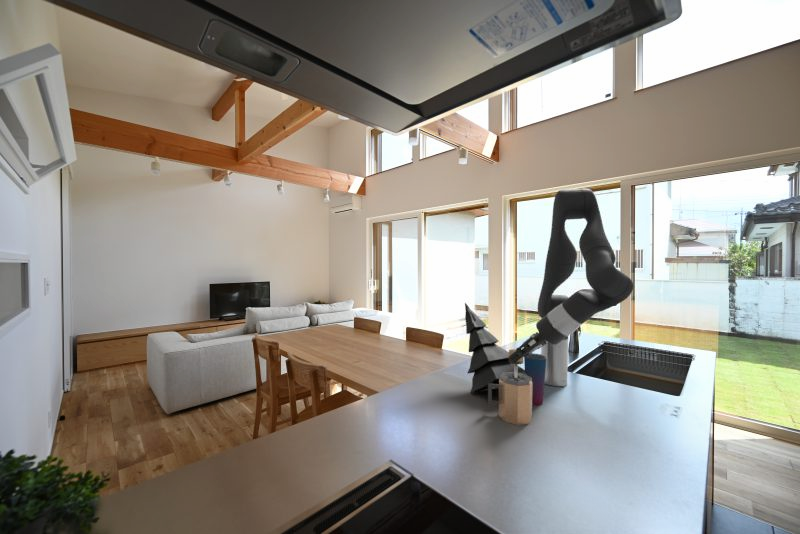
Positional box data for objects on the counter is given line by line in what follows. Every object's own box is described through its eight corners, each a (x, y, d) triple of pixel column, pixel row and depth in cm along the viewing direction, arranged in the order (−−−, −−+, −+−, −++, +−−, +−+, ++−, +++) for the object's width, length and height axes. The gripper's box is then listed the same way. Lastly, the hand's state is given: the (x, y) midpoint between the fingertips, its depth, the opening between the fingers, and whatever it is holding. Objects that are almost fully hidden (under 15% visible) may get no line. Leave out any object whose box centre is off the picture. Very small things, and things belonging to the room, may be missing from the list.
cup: (547, 407, 106) (548, 359, 105) (524, 405, 107) (525, 358, 107) (543, 398, 112) (544, 354, 112) (521, 396, 114) (522, 352, 113)
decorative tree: (505, 397, 121) (468, 311, 138) (534, 384, 110) (490, 292, 128) (474, 405, 114) (439, 313, 131) (501, 392, 103) (460, 294, 120)
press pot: (486, 412, 101) (486, 373, 101) (520, 409, 104) (521, 371, 103) (500, 426, 93) (501, 383, 93) (537, 423, 95) (537, 381, 95)
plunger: (505, 410, 100) (506, 349, 100) (517, 409, 101) (518, 349, 101) (512, 416, 96) (513, 353, 96) (525, 415, 97) (526, 352, 97)
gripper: (556, 310, 98) (516, 342, 105) (540, 315, 87) (497, 351, 94) (576, 330, 94) (533, 363, 102) (562, 339, 83) (515, 375, 91)
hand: (516, 357), depth 98 cm, fingers open, 8 cm apart
